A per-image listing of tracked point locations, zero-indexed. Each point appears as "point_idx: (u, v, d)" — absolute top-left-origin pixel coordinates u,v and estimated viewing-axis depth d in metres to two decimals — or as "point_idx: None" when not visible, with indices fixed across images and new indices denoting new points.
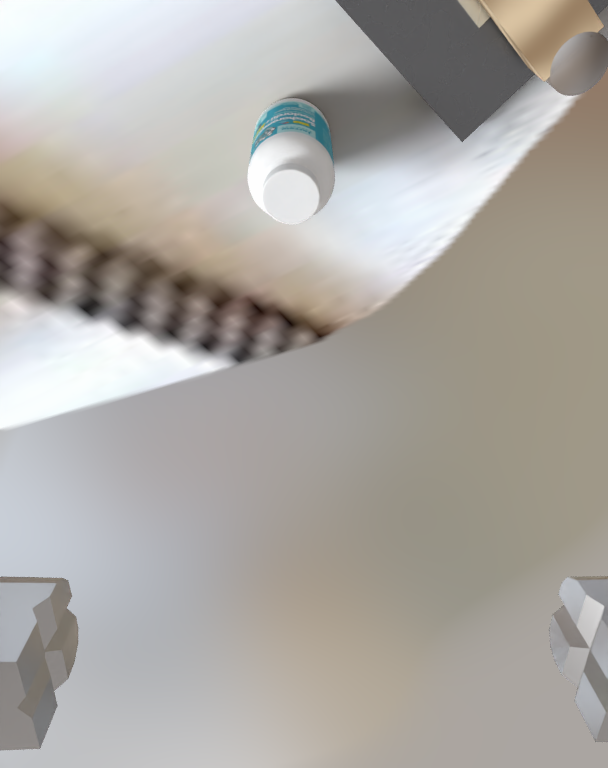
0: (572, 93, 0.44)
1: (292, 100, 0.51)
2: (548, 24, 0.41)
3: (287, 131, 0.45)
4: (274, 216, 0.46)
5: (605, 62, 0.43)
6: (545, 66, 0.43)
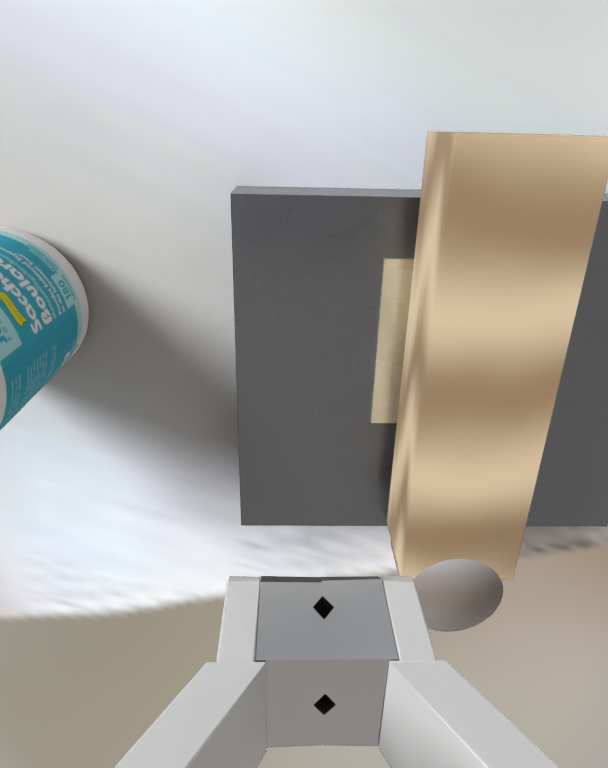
0: None
1: (55, 258, 0.25)
2: (462, 522, 0.23)
3: None
4: None
5: (480, 618, 0.26)
6: (418, 564, 0.24)
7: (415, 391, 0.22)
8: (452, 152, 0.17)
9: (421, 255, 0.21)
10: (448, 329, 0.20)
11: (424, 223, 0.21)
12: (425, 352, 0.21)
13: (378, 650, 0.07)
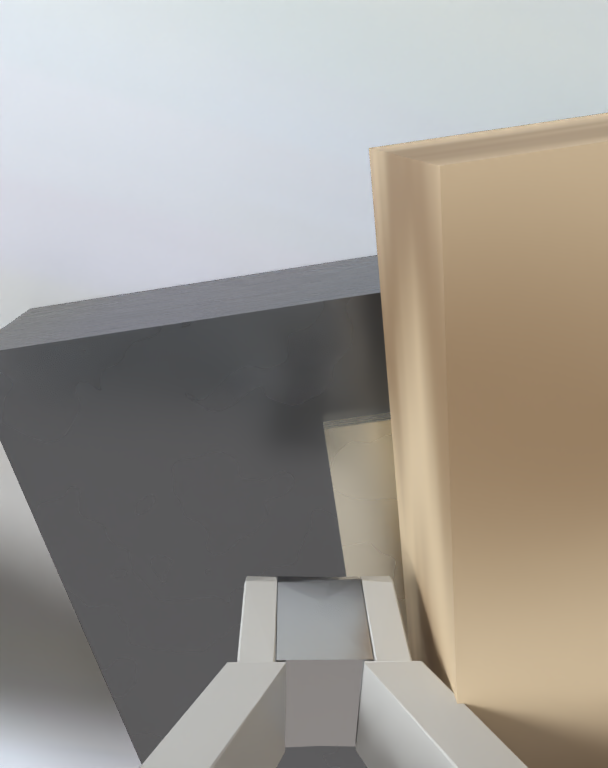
0: None
1: None
2: None
3: None
4: None
5: None
6: None
7: None
8: (436, 235, 0.05)
9: (403, 456, 0.08)
10: (507, 711, 0.07)
11: (397, 384, 0.08)
12: None
13: (354, 650, 0.07)
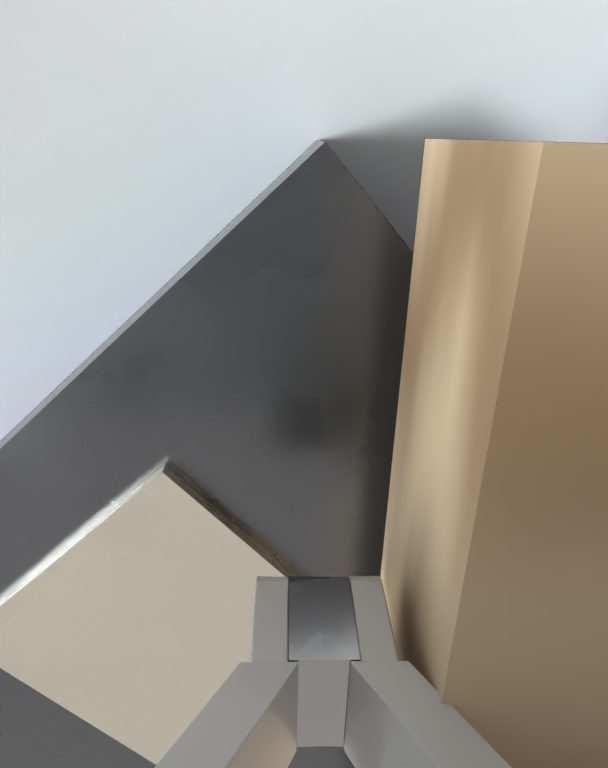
0: None
1: None
2: None
3: None
4: None
5: None
6: None
7: None
8: (519, 213, 0.05)
9: (410, 450, 0.08)
10: (488, 711, 0.07)
11: (417, 376, 0.08)
12: None
13: (341, 650, 0.07)
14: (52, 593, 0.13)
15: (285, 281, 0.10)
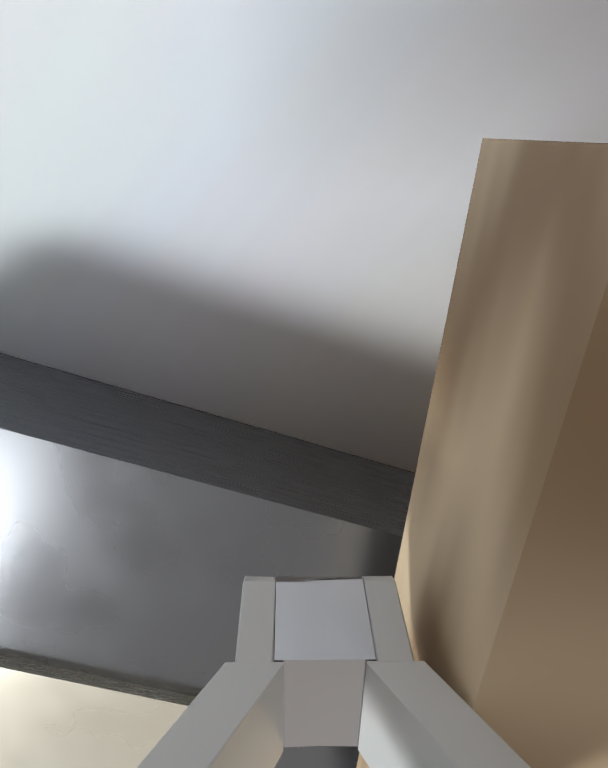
0: None
1: None
2: None
3: None
4: None
5: None
6: None
7: None
8: None
9: (444, 451, 0.08)
10: (519, 715, 0.07)
11: (459, 376, 0.08)
12: None
13: (356, 650, 0.07)
14: None
15: None
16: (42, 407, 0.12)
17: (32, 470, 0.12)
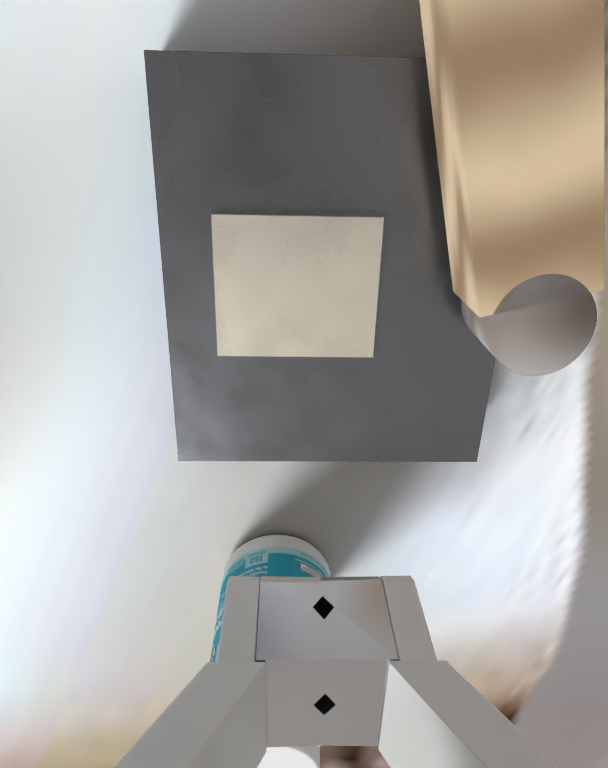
0: (509, 365, 0.24)
1: (239, 555, 0.36)
2: (532, 227, 0.21)
3: None
4: None
5: (577, 348, 0.23)
6: (494, 293, 0.22)
7: (446, 85, 0.20)
8: None
9: None
10: None
11: None
12: (446, 20, 0.19)
13: (378, 650, 0.07)
14: (226, 303, 0.27)
15: (178, 106, 0.24)
16: None
17: (238, 74, 0.24)
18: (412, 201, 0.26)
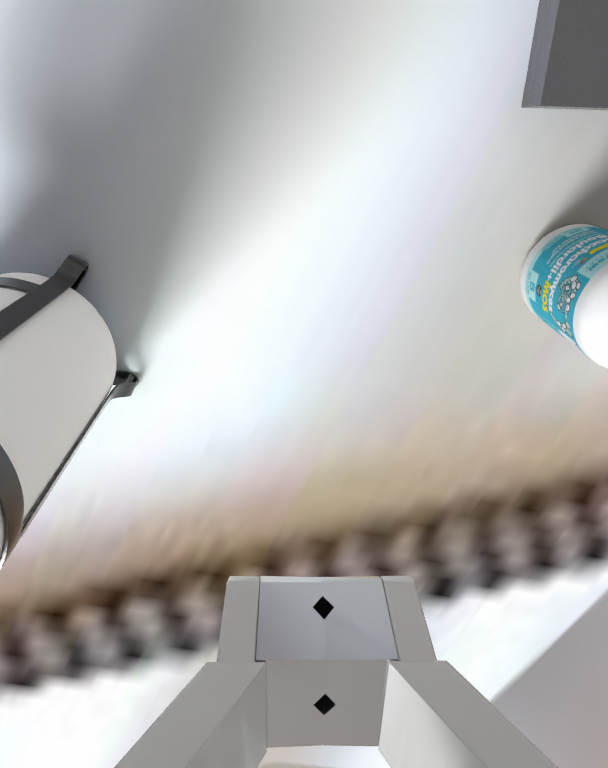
0: None
1: (550, 237, 0.39)
2: None
3: (602, 267, 0.32)
4: None
5: None
6: None
7: None
8: None
9: None
10: None
11: None
12: None
13: (378, 650, 0.07)
14: None
15: None
16: None
17: None
18: None
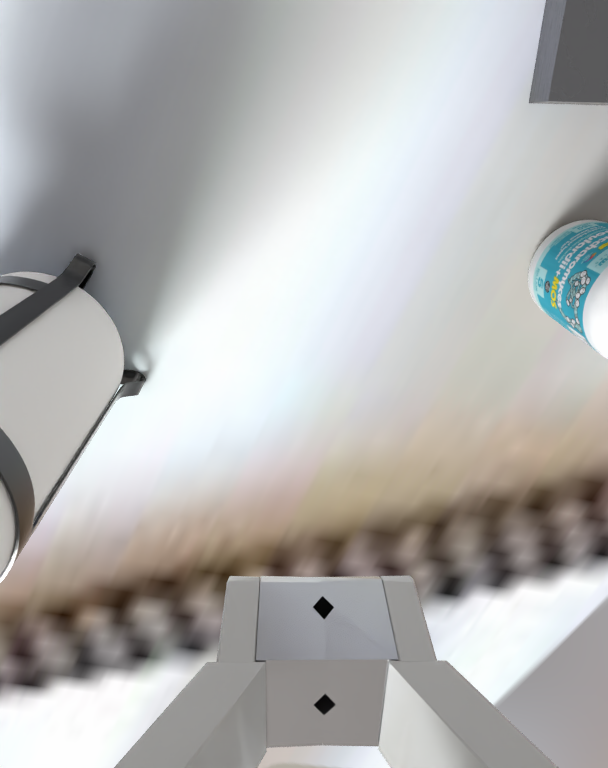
0: None
1: (558, 233, 0.39)
2: None
3: None
4: None
5: None
6: None
7: None
8: None
9: None
10: None
11: None
12: None
13: (378, 650, 0.07)
14: None
15: None
16: None
17: None
18: None
